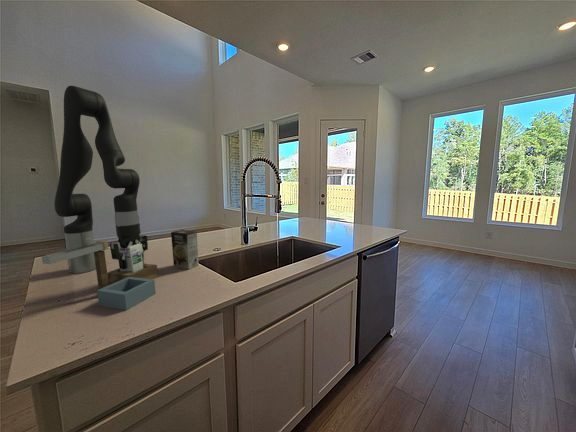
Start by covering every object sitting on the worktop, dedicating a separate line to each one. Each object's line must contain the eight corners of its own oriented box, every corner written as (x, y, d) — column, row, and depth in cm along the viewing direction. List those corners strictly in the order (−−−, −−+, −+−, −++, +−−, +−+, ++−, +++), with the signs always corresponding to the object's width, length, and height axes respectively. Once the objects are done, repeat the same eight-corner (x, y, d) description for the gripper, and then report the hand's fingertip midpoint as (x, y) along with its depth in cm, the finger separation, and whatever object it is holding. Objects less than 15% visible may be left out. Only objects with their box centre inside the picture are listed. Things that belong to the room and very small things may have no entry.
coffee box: (173, 267, 108) (170, 232, 105) (184, 262, 114) (181, 229, 111) (188, 270, 104) (186, 233, 102) (199, 265, 110) (197, 230, 108)
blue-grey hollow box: (99, 305, 75) (97, 290, 75) (130, 290, 86) (128, 276, 85) (126, 310, 73) (124, 294, 72) (155, 293, 83) (154, 279, 82)
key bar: (42, 264, 67) (40, 255, 67) (100, 248, 83) (99, 241, 82) (51, 265, 66) (49, 256, 66) (108, 249, 82) (107, 241, 81)
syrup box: (134, 284, 90) (130, 247, 88) (121, 283, 91) (116, 246, 89) (146, 278, 96) (142, 243, 94) (133, 277, 97) (129, 242, 95)
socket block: (89, 294, 83) (83, 250, 81) (135, 274, 101) (131, 238, 98) (114, 298, 80) (109, 253, 78) (157, 276, 98) (154, 239, 95)
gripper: (136, 219, 98) (140, 258, 100) (100, 226, 84) (106, 271, 87) (151, 220, 96) (155, 260, 98) (117, 227, 82) (122, 273, 85)
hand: (132, 265), depth 93 cm, fingers open, 7 cm apart
